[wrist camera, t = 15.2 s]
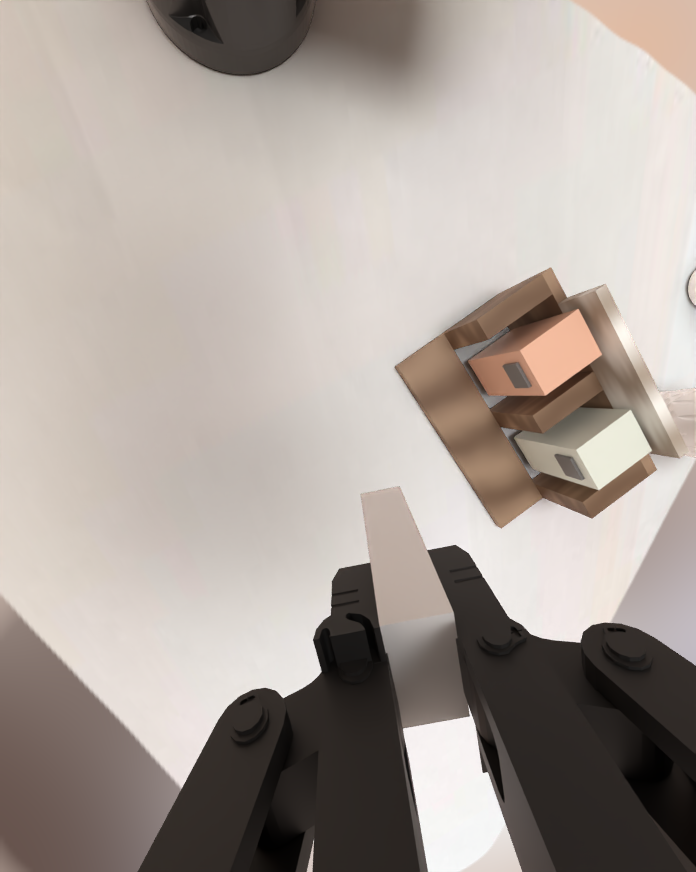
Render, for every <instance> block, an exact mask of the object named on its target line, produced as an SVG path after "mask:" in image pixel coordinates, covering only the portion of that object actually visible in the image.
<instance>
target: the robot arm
mask: <svg viewBox="0 0 696 872" xmlns="http://www.w3.org/2000/svg"><path fill="white" fill-rule="evenodd" d="M147 2H148V5H149V7H150V9H151V11H152V13H153V15H154V17H155V19H156V20H157V22H158V24H159V25H160V27H161V28H162V29H163V31H164V32H165V33H166V35H167V36H168V37H169V38H170V39H171V41H172V42H173V43H174V44H175V45H176V46H177V47H179V48H180V49H181V50H182V51H183V52H184V53H186V54H187V55H188V56H190V57H191V58H193V59H194V60H196V61H197V62H199V63H201V64H203V65H205V66H207V67H209V68H212V69H215V70H218V71H221V72H225V73H231V74H253V73H259V72H263V71H266V70H269V69H271V68H273V67H275V66H277V65H279V64H280V63H282V62H283V61H285V60H286V59H287V58H288V57H289V56H291V55H292V54H293V53H294V51H295V50H296V49H297V48H298V47H299V45H300V44H301V42H302V41H303V39H304V37H305V35H306V33H307V31H308V29H309V26H310V23H311V20H312V16H313V11H314V4H315V0H147ZM361 500H362V507H363V514H364V521H365V528H366V535H367V542H368V549H369V556H370V563H367V564H361V565H356V566H351V567H346V568H341V569H339V570H338V572H337V574H336V575H335V577H334V579H333V580H332V599H331V606H332V608H331V616H329V617H328V618H326V619H325V620H323V622H322V623H321V624H320V626H319V627H318V628H317V629H316V632H315V635H314V639H313V641H314V645H315V649H316V652H317V656H318V659H319V663H320V667H321V670H322V672H321V674H320V675H319V676H318V677H317V678H316V679H315V680H314V681H313V682H312V683H310V684H309V685H307V686H306V687H304V688H302V689H301V690H299V691H297V692H295V693H293V694H291V695H289V696H287V697H285V698H282V697H281V696H280V695H279V693H278V692H277V691H275V690H271V689H268V688H261V689H255V690H251V691H249V692H247V693H245V694H243V695H241V696H240V697H238V698H237V699H236V700H235V701H234V702H233V703H232V704H230V705H229V706H228V707H227V709H226V710H225V711H224V713H223V714H222V716H221V717H220V719H219V720H218V722H217V724H216V726H215V727H214V729H213V731H212V733H211V735H210V737H209V739H208V741H207V742H206V744H205V746H204V748H203V750H202V752H201V754H200V756H199V758H198V759H197V761H196V763H195V765H194V767H193V769H192V771H191V773H190V774H189V776H188V778H187V780H186V782H185V784H184V786H183V788H182V789H181V791H180V793H179V795H178V797H177V799H176V801H175V803H174V805H173V806H172V809H171V810H170V812H169V814H168V816H167V818H166V820H165V821H164V823H163V825H162V827H161V829H160V831H159V833H158V835H157V837H156V838H155V840H154V842H153V844H152V846H151V848H150V850H149V851H148V854H147V855H146V857H145V859H144V861H143V863H142V865H141V867H140V869H139V870H138V872H307V867H308V863H309V858H310V854H311V849H312V845H313V840H314V854H313V872H428V870H427V864H426V858H425V852H424V846H423V840H422V834H421V828H420V823H419V817H418V811H417V805H416V799H415V793H414V787H413V781H412V775H411V770H410V764H409V758H408V753H407V749H406V744H405V739H404V733H403V728H408V727H413V726H419V725H424V724H430V723H435V722H441V721H446V720H452V719H458V718H463V717H469V716H470V715H469V709H468V705H469V708H470V711H471V714H472V716H473V719H474V722H475V725H476V731H477V738H478V745H479V751H480V758H481V764H482V771H483V773H485V772H488V774H489V776H490V779H491V782H492V785H493V788H494V791H495V794H496V797H497V800H498V802H499V805H500V808H501V811H502V814H503V817H504V820H505V823H506V826H507V828H508V831H509V834H510V837H511V839H512V843H513V845H514V848H515V852H516V854H517V857H518V860H519V863H520V866H521V869H522V872H696V666H695V665H694V664H692V663H691V662H689V661H688V660H686V659H685V658H684V657H682V656H681V655H679V654H678V653H676V652H675V651H673V650H672V649H670V648H669V647H667V646H666V645H664V644H663V643H662V642H660V641H658V640H657V639H655V638H654V637H652V636H650V635H648V634H647V633H645V632H642V631H641V630H639V629H637V628H633V627H630V626H626V625H623V624H616V623H601V624H596V625H592V626H590V627H589V628H588V629H587V630H585V631H584V632H583V635H582V639H581V643H576V642H565V641H554V640H548V639H542V638H539V637H536V636H534V635H531V634H530V633H529V632H528V631H527V630H526V629H525V628H524V627H523V626H522V625H521V624H519V623H517V622H515V621H513V620H512V619H510V618H509V617H508V616H507V614H506V613H505V611H504V609H503V608H502V606H501V605H500V603H499V601H498V600H497V598H496V597H495V595H494V593H493V592H492V590H491V589H490V587H489V585H488V584H487V582H486V581H485V579H484V578H483V577H482V574H481V572H480V571H479V569H478V568H477V567H476V564H475V563H474V561H473V560H472V558H471V556H470V555H469V553H467V552H466V551H464V550H463V549H461V548H459V547H458V546H456V545H453V546H448V547H443V548H437V549H432V550H427V549H426V547H425V544H424V542H423V540H422V537H421V535H420V533H419V530H418V528H417V526H416V523H415V521H414V519H413V516H412V514H411V512H410V509H409V507H408V505H407V502H406V500H405V498H404V495H403V493H402V491H401V488H400V486H398V487H393V488H388V489H383V490H378V491H373V492H368V493H363V494H361Z"/></svg>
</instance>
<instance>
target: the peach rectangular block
mask: <svg viewBox="0 0 696 872" xmlns="http://www.w3.org/2000/svg"><path fill="white" fill-rule="evenodd" d="M601 355H602V353H601V351H600V349H599V347H598V346H597V344H596V342H595V340H594V338H593V336H592V334H591V332H590V330H589V328H588V326H587V324H586V322H585V321H584V319H583V317H582V315H581V313H580V311H579V309H576V310H573V311H570V312H566V313H563V314H560V315H557V316H553V317H550V318H547V319H543V320H540V321H537V322H534V323H530V324H527V325H524V326H521V327H517V328H514V329H512V330H511V331H509V332H508V333H507V334H505V335H504V336H502V337H501V338H499V339H498V340H497V341H495V342H494V343H492V344H491V345H490V346H488V347H487V348H485V349H484V350H483V351H481V352H480V353H478V354H477V355H475V356H474V357H473V358H471V359H470V360H468V362H469V364H470V365H471V367H472V369H473V370H474V372H475V374H476V375H477V377H478V379H479V380H480V382H481V384H482V385H483V387H484V389H485V390H486V392H487V394H488V395H496V396H546V395H547V394H548V393H550V392H551V391H553V390H554V389H555V388H557V387H558V386H560V385H561V384H562V383H564V382H565V381H566V380H568V379H569V378H571V377H572V376H573V375H575V374H576V373H577V372H579V371H580V370H582V369H583V368H584V367H586V366H587V365H589V364H590V363H591V362H593V361H594V360H595V359H597V358H598V357H600V356H601Z"/></svg>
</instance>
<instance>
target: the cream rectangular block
mask: <svg viewBox="0 0 696 872" xmlns="http://www.w3.org/2000/svg"><path fill="white" fill-rule="evenodd" d="M514 439H515V441H516V442H517V444H518V446H519V447H520V449H521V451H522V452H523V454H524V456H525V457H526V459H527V461H528V462H529V464H530V466H531V467H532V469H534V470H537V471H540V472H543V473H546V474H549V475H552V476H556V477H559V478H562V479H565V480H568V481H571V482H574V483H578V484H581V485H584V486H587V487H590V488H593V489H596V490H600V489H601V488H603V487H604V486H605V485H607V484H608V483H609V482H611V481H612V480H613V479H615V478H616V477H617V476H619V475H620V474H621V473H623V472H624V471H625V470H627V469H628V468H629V467H631V466H632V465H634V464H635V463H636V462H638V461H639V460H640V459H642V458H643V457H644V456H646V455H647V454H648V453H650V452H651V451H652V449H651V447H650V446H649V444H648V442H647V440H646V438H645V436H644V434H643V432H642V430H641V428H640V426H639V424H638V422H637V421H636V419H635V417H634V415H633V413H632V411H631V410H627V409H604V408H582V407H579V408H578V409H576V410H575V411H573V412H572V413H571V414H569V415H568V416H567V417H565V418H564V419H563V420H561V421H560V422H558V423H557V424H556V425H554V426H553V427H552V428H550V429H549V430H547V431H546V432H545V433H543V434H541V433H535V432H529V431H522V432H521V433H519V434H518V435H516V436H515V437H514Z"/></svg>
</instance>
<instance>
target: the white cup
mask: <svg viewBox="0 0 696 872" xmlns="http://www.w3.org/2000/svg"><path fill="white" fill-rule="evenodd" d="M660 394H661V396H662V398H663V400H664V402H665V404H666V406H667V408H668V410H669V412H670V414H671V416H672V418H673V420H674V422H675V424H676V426H677V428H678V430H679V432H680V434H681V436H682V438H683V440H684V442H685V444H686V446H687V448H688V450H689V452H688V453H686V454H685V456H690V457H694V458H696V388H691V389H680V390H676V391H664V392H660Z"/></svg>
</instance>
